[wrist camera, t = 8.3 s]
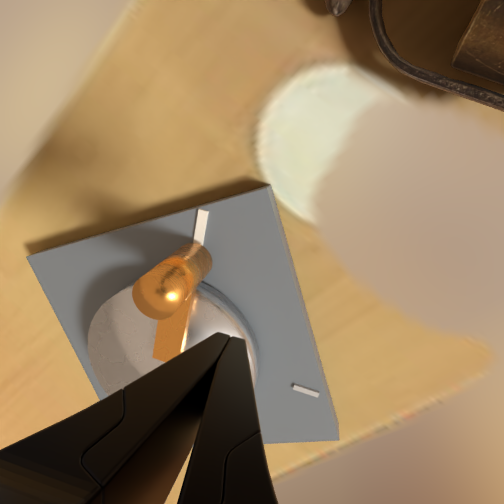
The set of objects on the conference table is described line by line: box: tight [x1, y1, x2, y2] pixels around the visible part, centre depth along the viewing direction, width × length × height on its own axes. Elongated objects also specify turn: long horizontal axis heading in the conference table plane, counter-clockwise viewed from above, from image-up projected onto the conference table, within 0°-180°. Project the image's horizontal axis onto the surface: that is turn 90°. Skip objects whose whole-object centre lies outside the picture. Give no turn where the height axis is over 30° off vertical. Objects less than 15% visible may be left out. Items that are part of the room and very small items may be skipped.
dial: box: [88, 243, 260, 396], centre depth 21 cm, size 15×12×6 cm
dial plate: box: [26, 185, 339, 447], centre depth 25 cm, size 19×19×2 cm
